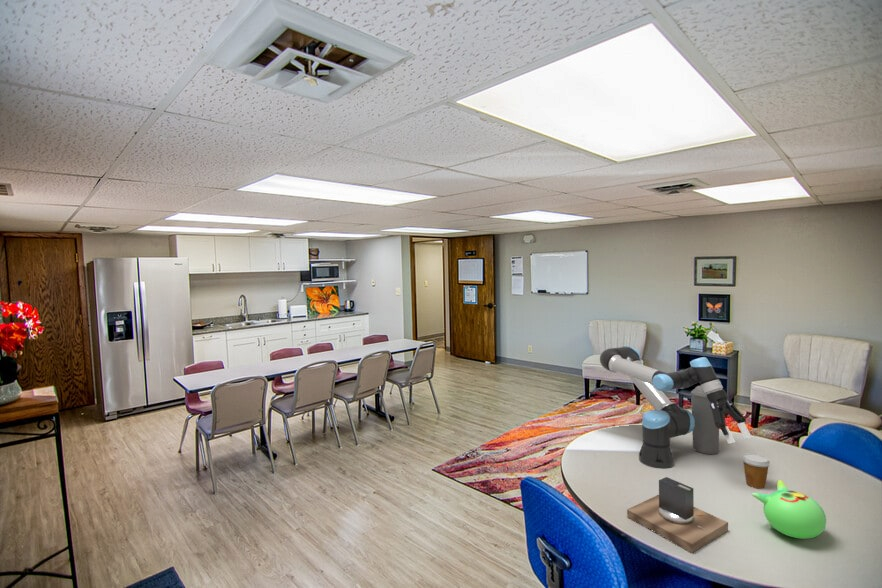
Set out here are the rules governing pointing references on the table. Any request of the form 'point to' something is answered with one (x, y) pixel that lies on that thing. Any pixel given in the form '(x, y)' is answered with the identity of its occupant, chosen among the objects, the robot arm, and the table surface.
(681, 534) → the dial panel
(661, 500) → the dial
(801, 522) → the toy bird
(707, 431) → the canister
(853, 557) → the table surface
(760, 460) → the disposable coffee cup
